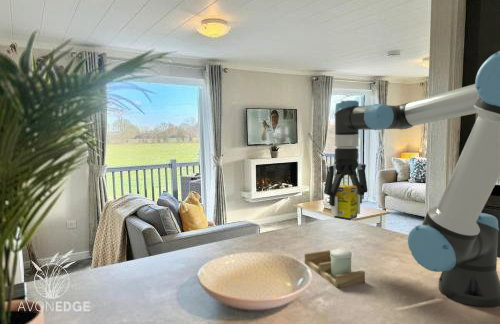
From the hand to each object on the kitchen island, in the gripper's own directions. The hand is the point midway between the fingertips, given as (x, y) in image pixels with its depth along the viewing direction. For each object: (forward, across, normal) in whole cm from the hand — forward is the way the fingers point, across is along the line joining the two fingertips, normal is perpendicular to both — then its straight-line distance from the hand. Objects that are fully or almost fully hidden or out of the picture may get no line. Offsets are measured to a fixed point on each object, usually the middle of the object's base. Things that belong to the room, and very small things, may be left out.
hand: (345, 213), depth 114 cm
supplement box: (+2, 0, 0) cm, 2 cm away
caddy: (+18, +8, +6) cm, 20 cm away
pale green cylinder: (+17, +8, +11) cm, 22 cm away
